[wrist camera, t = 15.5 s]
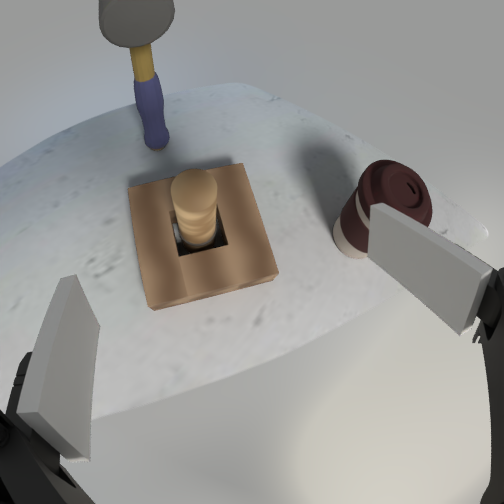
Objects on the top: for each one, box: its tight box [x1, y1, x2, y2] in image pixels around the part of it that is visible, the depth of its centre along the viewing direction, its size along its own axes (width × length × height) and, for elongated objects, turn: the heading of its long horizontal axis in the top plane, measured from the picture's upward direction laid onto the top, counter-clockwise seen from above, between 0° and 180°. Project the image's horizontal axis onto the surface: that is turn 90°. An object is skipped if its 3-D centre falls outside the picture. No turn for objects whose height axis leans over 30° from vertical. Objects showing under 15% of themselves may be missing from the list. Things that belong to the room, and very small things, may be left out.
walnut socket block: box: [128, 163, 279, 311], centre depth 39 cm, size 16×16×4 cm
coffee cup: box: [333, 160, 432, 259], centre depth 37 cm, size 10×10×15 cm
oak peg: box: [171, 169, 217, 254], centre depth 35 cm, size 5×5×14 cm
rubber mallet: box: [99, 0, 175, 150], centre depth 31 cm, size 12×8×30 cm, turn 19°
